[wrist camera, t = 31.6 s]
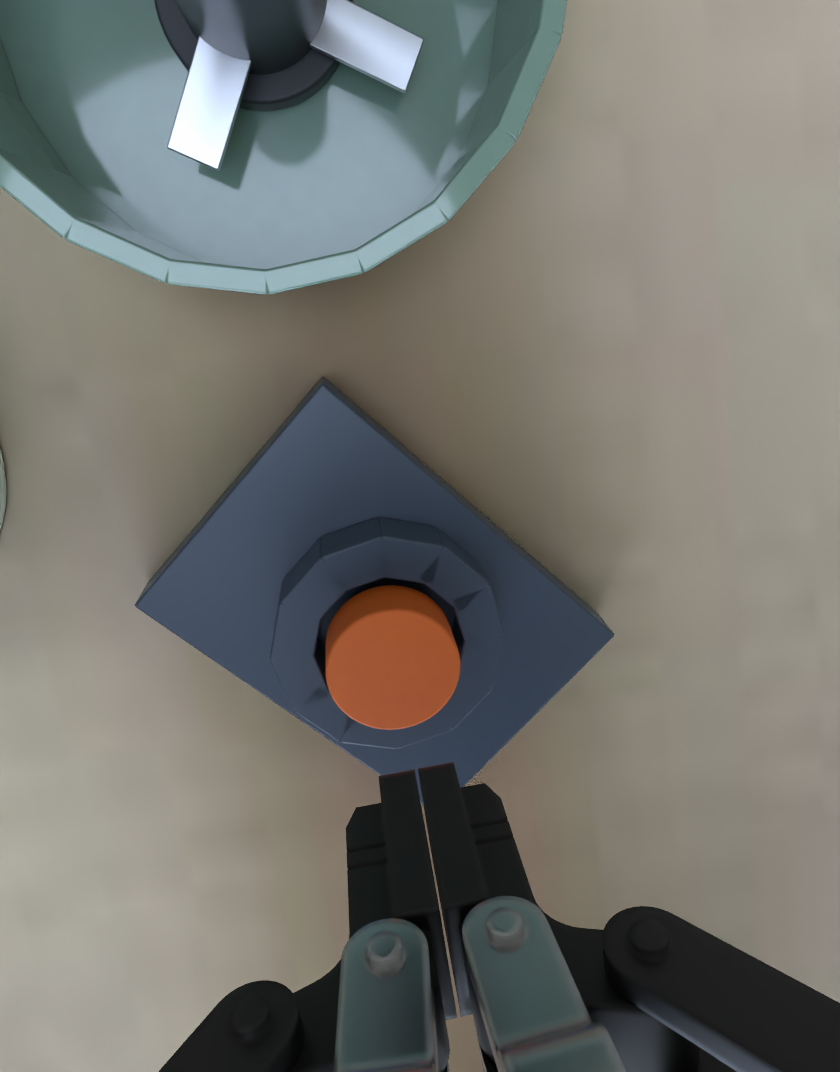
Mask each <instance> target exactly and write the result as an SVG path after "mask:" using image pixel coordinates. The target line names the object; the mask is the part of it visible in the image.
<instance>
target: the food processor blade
mask: <svg viewBox="0 0 840 1072" xmlns="http://www.w3.org/2000/svg"><path fill="white" fill-rule="evenodd" d="M154 3H155V8H156V11H157V15H158V19H159V22H160V24H161V27H162V29H163V32H164V34H165V36H166V38H167V40H168V42H169V44H170V46H171V48H172V49H173V51H174V52H175V54H176V55H177V57H178V58H179V59H180V61H181V62H182V64H183V65H184V67H185V68H186V70H187V71H188V76H187V79H186V83H185V86H184V90H183V93H182V96H181V100H180V103H179V107H178V110H177V114H176V117H175V121H174V124H173V128H172V131H171V135H170V138H169V142H168V145H167V148H168V149H169V150H172V151H174V152H176V153H178V154H181V155H183V156H185V157H188V158H190V159H192V160H194V161H197V162H199V163H201V164H204V165H206V166H208V167H210V168H213V169H215V170H217V171H219V170H220V167H221V164H222V161H223V158H224V154H225V151H226V148H227V145H228V141H229V138H230V135H231V132H232V128H233V125H234V122H235V119H236V115H237V112H238V109H239V107H240V108H244V109H249V110H255V111H276V110H281V109H286V108H289V107H292V106H295V105H297V104H300V103H301V102H303V101H305V100H307V99H309V98H310V97H312V96H313V95H314V94H316V93H317V92H318V91H319V90H320V89H321V88H322V87H323V86H324V85H325V84H326V83H327V82H328V81H329V80H330V78H331V77H332V76H333V74H334V73H335V71H336V70H337V68H338V66H339V64H340V62H341V63H343V64H345V65H347V66H349V67H351V68H353V69H355V70H357V71H359V72H361V73H364V74H366V75H368V76H370V77H372V78H374V79H376V80H378V81H380V82H382V83H384V84H386V85H388V86H390V87H392V88H394V89H396V90H398V91H400V92H402V93H405V92H406V90H407V87H408V84H409V81H410V78H411V76H412V73H413V70H414V67H415V65H416V62H417V59H418V56H419V53H420V51H421V48H422V45H423V42H424V39H423V38H421V37H419V36H417V35H415V34H413V33H411V32H410V31H408V30H406V29H404V28H402V27H400V26H398V25H396V24H394V23H392V22H390V21H388V20H386V19H384V18H382V17H380V16H378V15H376V14H374V13H372V12H370V11H368V10H366V9H364V8H362V7H360V6H358V5H356V4H354V3H353V0H154Z"/></svg>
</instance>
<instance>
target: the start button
mask: <svg viewBox="0 0 840 1072" xmlns="http://www.w3.org/2000/svg"><path fill="white" fill-rule="evenodd" d="M460 664H461V663H460V655H459V651H458V648H457V645H456V642H455V639H454V636H453V634H452V631H451V628H450V625H449V622H448V620H447V618H446V616H445V614H444V612H443V611H442V609H441V608H440V607H439V606H438V604H437V603H436V602H434V601H433V600H432V599H431V598H430V597H428V596H427V595H425V594H424V593H422V592H420V591H418V590H415V589H412V588H409V587H404V586H397V585H385V586H378V587H374V588H370V589H367V590H365V591H362V592H360V593H358V594H357V595H355V596H353V597H352V598H350V599H349V600H348V601H346V602H345V603H344V604H343V605H342V606H341V607H340V609H339V610H338V611H337V612H336V614H335V615H334V617H333V619H332V620H331V623H330V625H329V627H328V631H327V635H326V668H325V669H326V682H327V686H328V689H329V692H330V694H331V696H332V698H333V700H334V701H335V703H336V704H337V706H338V707H339V708H340V709H341V710H342V711H343V712H344V713H345V714H346V715H348V716H349V717H350V718H352V719H353V720H355V721H357V722H359V723H361V724H363V725H366V726H369V727H372V728H377V729H386V730H394V729H403V728H408V727H411V726H415V725H417V724H420V723H422V722H424V721H426V720H428V719H429V718H431V717H432V716H434V715H435V714H436V713H438V712H439V711H440V710H441V709H442V708H443V707H444V706H445V705H446V703H447V702H448V701H449V699H450V698H451V696H452V695H453V693H454V691H455V689H456V686H457V683H458V680H459V676H460Z"/></svg>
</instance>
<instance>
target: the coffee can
mask: <svg viewBox="0 0 840 1072" xmlns="http://www.w3.org/2000/svg"><path fill="white" fill-rule="evenodd" d="M6 495H7V491H6V479H5V470H4V462H3V458H2V454H1V450H0V530H1V527H2V524H3V518H4V514H5V506H6Z"/></svg>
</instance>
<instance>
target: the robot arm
mask: <svg viewBox="0 0 840 1072" xmlns="http://www.w3.org/2000/svg"><path fill="white" fill-rule="evenodd" d="M418 773H419V780H420V786H421V792H422V798H423V804H424V810H425V816H426V823H427V829H428V835H429V841H430V847H431V853H432V858H433V864H434V870H435V875H436V881H437V886H438V892H439V897H440V903H441V908H442V914H443V920H444V925H445V931H446V936H447V942H448V947H449V953H450V958H451V964H452V969H453V975H454V981H455V986H456V992H457V997H458V1003H459V1008H460V1014H461V1016H465V1015H470V1014H473V1016H474V1021H475V1026H476V1031H477V1036H478V1042H479V1049H480V1055H481V1061H482V1066H483V1070H484V1072H840V1003H838V1002H836V1001H835V1000H833V999H831V998H829V997H827V996H825V995H823V994H821V993H820V992H818V991H816V990H814V989H812V988H810V987H808V986H806V985H805V984H803V983H801V982H799V981H797V980H795V979H793V978H792V977H790V976H788V975H786V974H784V973H782V972H780V971H778V970H777V969H775V968H773V967H771V966H769V965H767V964H765V963H763V962H762V961H760V960H758V959H756V958H754V957H752V956H750V955H748V954H747V953H745V952H743V951H741V950H739V949H737V948H735V947H733V946H732V945H730V944H728V943H726V942H724V941H722V940H720V939H718V938H717V937H715V936H713V935H711V934H709V933H707V932H705V931H703V930H702V929H700V928H698V927H696V926H694V925H692V924H690V923H688V922H687V921H685V920H683V919H681V918H679V917H677V916H675V915H673V914H672V913H669V912H667V911H665V910H662V909H659V908H654V907H645V906H640V907H632V908H628V909H625V910H623V911H620V912H619V913H617V914H615V915H614V916H613V917H612V918H611V919H610V920H609V921H608V923H607V924H606V926H605V928H604V930H597V929H585V928H577V927H572V926H568V925H565V924H562V923H560V922H557V921H556V920H554V919H552V918H551V917H549V916H548V915H547V914H545V913H544V912H543V911H542V910H541V909H540V907H539V906H538V905H537V903H536V901H535V899H534V897H533V894H532V891H531V888H530V885H529V882H528V879H527V876H526V873H525V870H524V867H523V864H522V861H521V858H520V855H519V852H518V849H517V846H516V843H515V840H514V838H513V834H512V831H511V828H510V825H509V822H508V820H507V816H506V813H505V810H504V807H503V804H502V801H501V798H500V797H499V796H498V795H497V794H496V793H494V792H493V791H492V790H491V789H490V788H489V787H488V786H487V785H486V784H485V783H484V784H478V785H473V786H468V787H462V788H460V785H459V781H458V777H457V773H456V769H455V766H454V763H453V762H451V763H445V764H440V765H435V766H429V767H424V768H419V769H418ZM379 784H380V793H381V803H378V804H373V805H368V806H362V807H357V808H356V809H355V811H354V813H353V815H352V817H351V819H350V821H349V823H348V825H347V827H346V841H347V867H348V899H349V928H350V935H349V941H348V942H347V944H346V946H345V948H344V950H343V953H342V958H341V960H340V961H339V962H338V964H337V965H336V966H335V967H334V968H333V969H332V970H331V971H330V972H329V973H328V974H326V975H325V976H324V977H322V978H321V979H319V980H317V981H316V982H314V983H312V984H310V985H308V986H306V987H304V988H302V989H300V990H299V991H297V992H295V993H292V992H291V991H290V990H289V989H288V988H287V987H286V986H284V985H283V984H280V983H278V982H274V981H256V982H251V983H248V984H245V985H243V986H241V987H239V988H237V989H235V990H234V991H232V992H230V993H229V994H228V995H227V996H225V997H224V998H223V999H222V1000H221V1001H220V1002H219V1003H218V1004H217V1005H216V1007H215V1008H214V1009H213V1010H212V1011H211V1012H210V1013H209V1015H208V1016H207V1017H206V1018H205V1019H204V1020H203V1021H202V1023H201V1024H200V1025H199V1026H198V1027H197V1028H196V1029H195V1031H194V1032H193V1033H192V1034H191V1035H190V1036H189V1037H188V1039H187V1040H186V1041H185V1042H184V1043H183V1044H182V1045H181V1047H180V1048H179V1049H178V1050H177V1051H176V1052H175V1053H174V1055H173V1056H172V1057H171V1058H170V1059H169V1060H168V1061H167V1063H166V1064H165V1065H164V1066H163V1067H162V1068H161V1069H160V1071H159V1072H450V1070H449V1064H448V1059H449V1052H450V1048H449V1039H448V1033H447V1027H446V1020H447V1019H452V1018H457V1014H456V1008H455V1002H454V996H453V990H452V984H451V978H450V972H449V965H448V959H447V953H446V947H445V941H444V935H443V929H442V923H441V916H440V910H439V905H438V899H437V893H436V888H435V882H434V876H433V871H432V865H431V859H430V854H429V848H428V842H427V837H426V831H425V825H424V820H423V814H422V808H421V803H420V797H419V791H418V786H417V780H416V774H415V769H414V770H409V771H403V772H398V773H393V774H387V775H382V776H379Z"/></svg>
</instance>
